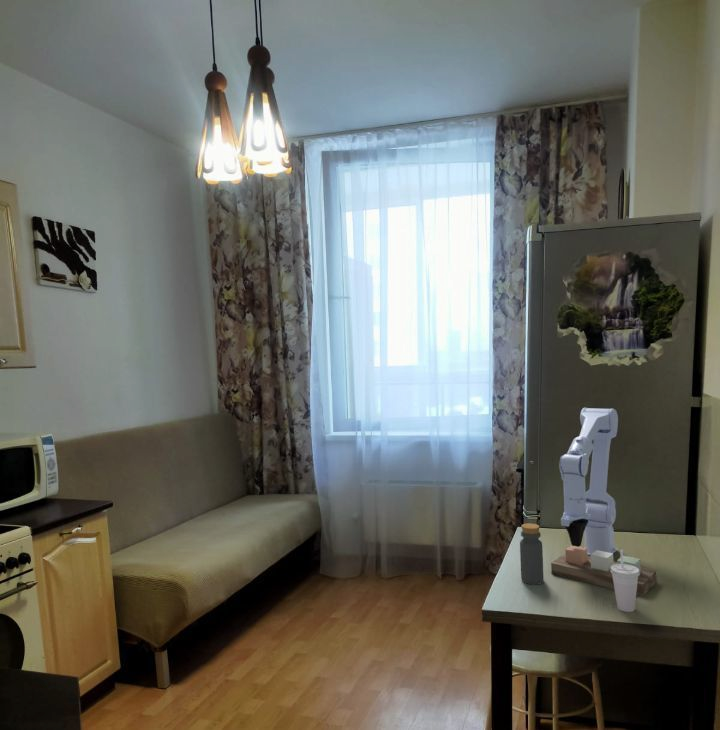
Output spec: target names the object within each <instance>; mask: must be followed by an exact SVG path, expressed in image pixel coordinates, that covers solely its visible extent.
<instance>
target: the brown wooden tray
mask: <svg viewBox="0 0 720 730" xmlns="http://www.w3.org/2000/svg"><path fill="white" fill-rule="evenodd" d="M613 563H614V564H617V561H613ZM550 565H551V567H550V568H551V574H552V575H555V574H556V575H555V576H559V575H561V576H560V577H563V576H564V577H563V578H569V579H571V578H572V580H576V581H580V582H583V583H584V582H585V583H588V584H593V585H596V586H601V587H605V588H608V589H613V590H615V588H614V582H613V576H612V573H611V571H609V572H607V571H603V570H598V569H594V568H591V556H590V555H588V562H587V563H585V564H584V565H583V566H581V565H576V564H572V563H568V562H566V552H565V553H564V554H562V555H561V556H559V557H558V558H556V559H555V560H553V561H552V562H551V563H550ZM657 579H658V577H657V570H654V569H650V568H646V567H641V574H640V575H639V576H638V582H637V591H636V596H637V595H638V596H640V597H641V596H642V597H644V596H645V595H646V594H647V593H648V592H649V591H650V590H651V589H652V588H651V587H654V585H656V583H658V582H657ZM650 588H651V589H650ZM649 589H650V590H649ZM648 590H649V591H648ZM647 591H648V592H647Z"/></svg>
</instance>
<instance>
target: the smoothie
mask: <svg viewBox="0 0 720 730" xmlns="http://www.w3.org/2000/svg"><path fill="white" fill-rule="evenodd" d="M623 556H624V550H623V549H620V558H621V564H614V565H612V566H611V567H610V568H611V570H610V571H611V573H612V576H613V582H614V588H615V589H614V593H615V594H614V595H615V599H616V606H617V607H616V608H617V609H618V610H619V611H622V612H625V613H631V612H634V611H635V610H636V599H637V594H636V591H637V582H638V576H639V575H640V573H639V569H638V568H637V567H635V566H632V565H628V564H623Z"/></svg>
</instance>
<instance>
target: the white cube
mask: <svg viewBox="0 0 720 730" xmlns="http://www.w3.org/2000/svg"><path fill="white" fill-rule="evenodd" d="M590 557H591V568H594V569H598V570H603V571H607V572H609V571H610V570H611V568H610V567H611V566H612V565H614V563H613V562H614V553H609V552H604V551H599V550H596V551H595V552H593V553H592V554H591V555H590Z"/></svg>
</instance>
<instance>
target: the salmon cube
mask: <svg viewBox="0 0 720 730" xmlns="http://www.w3.org/2000/svg"><path fill="white" fill-rule="evenodd" d="M564 549H565V553H566V562H568V563H572V564H576V565H581V566H583V565H584V564H585V563H587V562H588V556H589V555H588V551H587V548H585V546H584V547H583V546H579V547H577V546H572V544H570V546H568V547H566V548H564Z"/></svg>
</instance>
